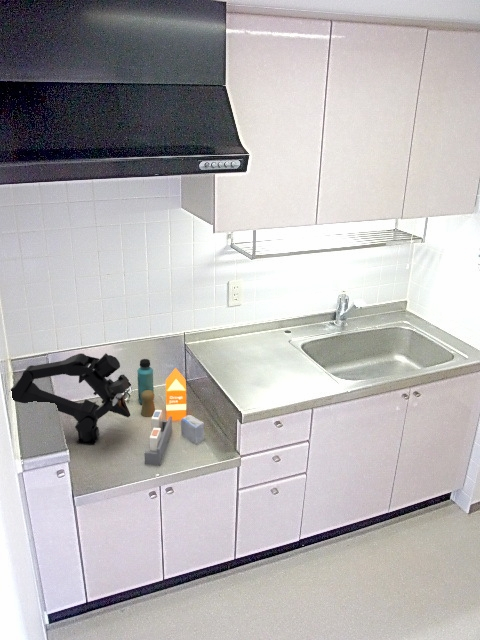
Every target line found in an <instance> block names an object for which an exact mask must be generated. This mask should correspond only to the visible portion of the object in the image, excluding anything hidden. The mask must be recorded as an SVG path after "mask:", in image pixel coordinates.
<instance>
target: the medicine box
mask: <svg viewBox="0 0 480 640" xmlns="http://www.w3.org/2000/svg"><path fill="white" fill-rule="evenodd" d="M180 425H181V426H180V427H181V429H180V431H181V433H180V434H181V436H182V437H184V438H185V439H187V441H188V440H189V441H190V442H191V443H193V444H195V445H197V444H199V443H201V442H202V441H204V439H205V423H204V422H203V421H202V420H200V419H198V418H197V417H195V416H193V415H191V414H188V415H186V417H184V418H182V419H181V420H180Z"/></svg>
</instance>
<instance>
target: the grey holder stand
mask: <svg viewBox="0 0 480 640" xmlns="http://www.w3.org/2000/svg"><path fill="white" fill-rule="evenodd" d="M162 424H163V433H161V439H160V442H159V444H158V447H157V452H154V451H150V450H145V451H144V452H143V453H144V464H145V465H149V466H150V465H151V466H161V464H162V461H163V458H164V455H165V452H166V450H167V447H168V445H169V441H170V438H171V437H172V433H173V421H172V416H169V418H168V420H167V419H162Z"/></svg>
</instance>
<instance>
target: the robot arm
mask: <svg viewBox="0 0 480 640" xmlns="http://www.w3.org/2000/svg"><path fill="white" fill-rule="evenodd" d="M120 368H121V363H120V361H119V359H118V358H117V357H116V356H113V355H111V354H110V355H109V354H108V353H107V352H105V353H103V355H102V356H101V358H98V357H94V356H89V355H86V354H85V353H77V354H74V355H72V356H70V357H68V358H66V359H64V360H58V361H53V362H48V363H42V364H36V365H29V366H27V367H26V368H25V369H24V371H22V375H21V377H20V379H19V380H17V381H16V383H14V385H13V386H12V387H11V388H10V390H11V391H12V398H13V400H14V402H15V403H20V404H29V403H28V402H33V401H37V402H50V403H55V404H56V405H57V408H58V411H57V412H59V413H63V414H66V415H69V416H71V417H73V418H74V419H75V420H76V421H77V423H76V424H75V426H74V428H75V430H76V431H77V436H78V439H77V441H76V443H77V444H83V445H90V446H91V445H95V444H96V442H97V441H98V439H99V437H100V430H99V429H100V428H99V426H98V421H99V419H101V418H102V417H103V416H105V415H107V414H108V413H109V412H112V413H115V414H118V415H121V416H123V417H126V418H130V417H131V413H130V410H129V408H128V405H127V403H126V401H125V400H126V396H127V393H125V392H126V391H127V390H128V389H129V388H130V387H131V386H132V383H131V382H130V381H129V380H130V379H128V377H127V376H126V375H125V374H120V375H118V377H117V379H116V380H115V381H113V380H112V379H111V378H109V377H111V375H112V374H114V373H115V372H117V370H118V369H120ZM60 375H61V376H63V375H66V376H70V377H78V383H79V384H81V383H82V382H83V381H85V383H86V384H87V385H88V386H89V387H90V388H91V389H92V391H94V392H93V393H92V394H93V395H94V396H97V395H98V397H99V398H100V399H101V403H102V404H100V405H98V404H97V402H96V401H95V402H94V401H91V400H88V399H84V401H83V402H76V401H74V400H71V399H68V398H65V397H63V396H60V395H56V394H54V393H50V392H49V391H45V390H42V389H40V388H39V386H38V385H37V384H36V383H34V380H37V379H42V378H50V377H56V376H60ZM13 400H12V401H13Z"/></svg>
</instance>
